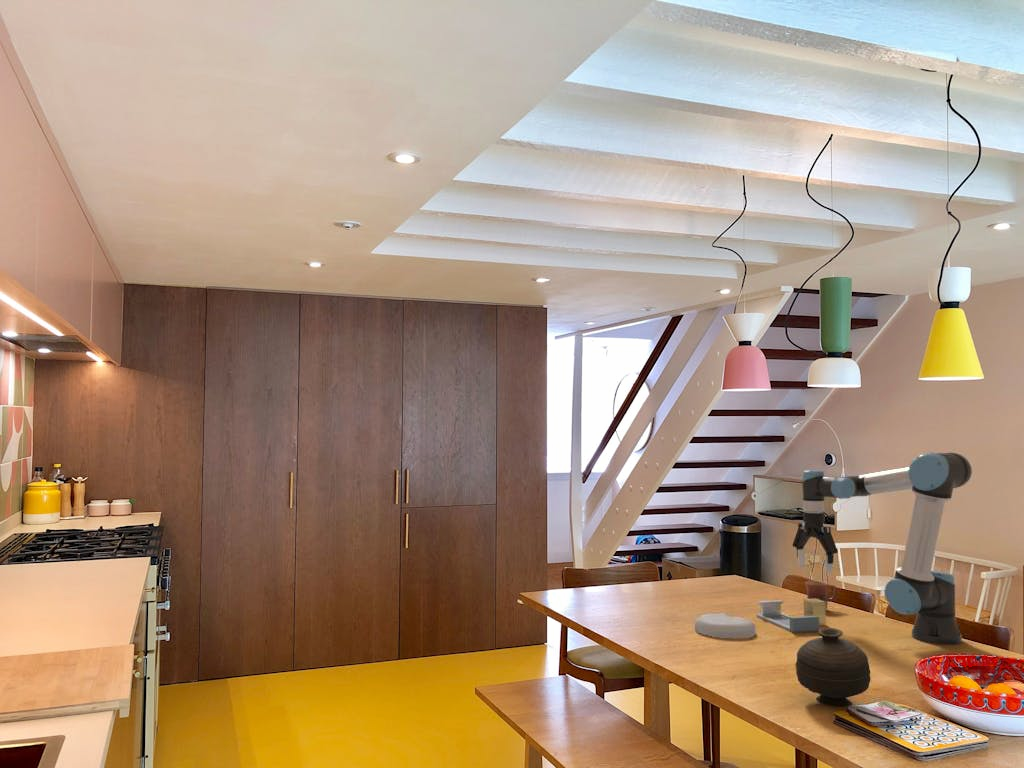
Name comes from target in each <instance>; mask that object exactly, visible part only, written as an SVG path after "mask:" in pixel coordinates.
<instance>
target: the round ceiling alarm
mask: <svg viewBox="0 0 1024 768" xmlns="http://www.w3.org/2000/svg"><path fill="white" fill-rule="evenodd" d="M756 628H757V627H756V624H755V623H754V622H753V621H752V620H749V619H747V618H743V617H739V616H732V615H728V614H727V613H723V612H722V613H721V612H719V613H706V614H703V615H700V616H698V617H697V618H696V620H695V622H694V631H695V632H696V633H698V634H700V633H701V635H703V634H704V636H706V635H708V636H707V637H710V636H712V637H711V638H716V637H718V639H725V638H733V639H732V640H739V639H738V638H745V639H749V638H748V637H751V638H753V637H752V636H754V635H755V634H757V633H756V632H757V631H756ZM755 636H756V635H755ZM755 636H754V637H755Z"/></svg>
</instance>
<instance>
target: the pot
mask: <svg viewBox="0 0 1024 768" xmlns="http://www.w3.org/2000/svg"><path fill="white" fill-rule="evenodd" d="M843 633H844V632H843V630H841V629H838V628H836V627H834V628H833V627H823V628H821V629H819V632H817V635H819V636H820V637H816V638H812V639H811V640H808V641H806V642H805V643H804V644H802V646H800V647H799V648H798V651H797V652H796V661H795V664H794V666H795V673H796V676H797V680H798V683H799V684H800V685H801V686H802V687H804V688H806V689H808V691H809V692H812V693H814V694H818V696H817V697H816V698H815V700H816V701H817V702H818V703H820V704H821V705H822V704H823V705H824V706H830V707H839V708H845V707H850V706H849V705H851V706H852V705H853V702H852V701H851V700H849V698H851V697H856V696H859V695H860V694H863V693H864V692H866V691H867V690H868V689H869V687H870V682H871V669H870V664H869V658H868V656H867V654H866V653H865V651H864V650H863V649H862V648H860V646H859V645H856V644H855V643H854V642H852V641H850V640H847V639H845V638H841V637H842V635H843Z"/></svg>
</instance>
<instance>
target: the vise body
mask: <svg viewBox="0 0 1024 768" xmlns="http://www.w3.org/2000/svg"><path fill="white" fill-rule="evenodd" d="M756 618H759V619H761V620H763V621H766V622H768V623H770V624H773V625H774V626H777V627H779V628H781V629H784V630H786V631H788V632H790V633H818V632H819V631H820V625H819V617H818V616H804V615H803V616H790V615H787V614H786V613H783V612H781V616H763V615H761V613H756Z"/></svg>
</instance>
